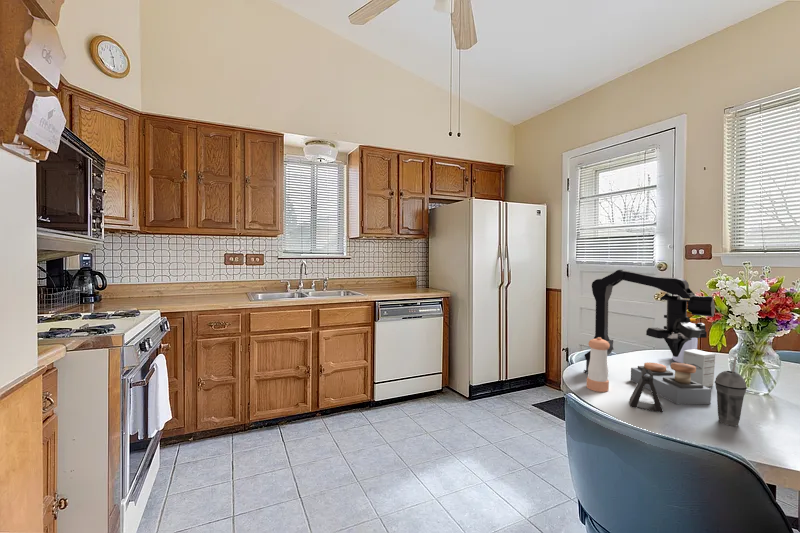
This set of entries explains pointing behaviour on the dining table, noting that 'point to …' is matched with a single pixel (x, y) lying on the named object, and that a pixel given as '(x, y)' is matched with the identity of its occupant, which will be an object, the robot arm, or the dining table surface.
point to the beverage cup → (730, 396)
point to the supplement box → (701, 366)
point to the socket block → (674, 387)
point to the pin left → (655, 367)
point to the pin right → (683, 372)
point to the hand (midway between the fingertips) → (675, 356)
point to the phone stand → (638, 390)
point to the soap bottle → (686, 348)
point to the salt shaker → (598, 366)
